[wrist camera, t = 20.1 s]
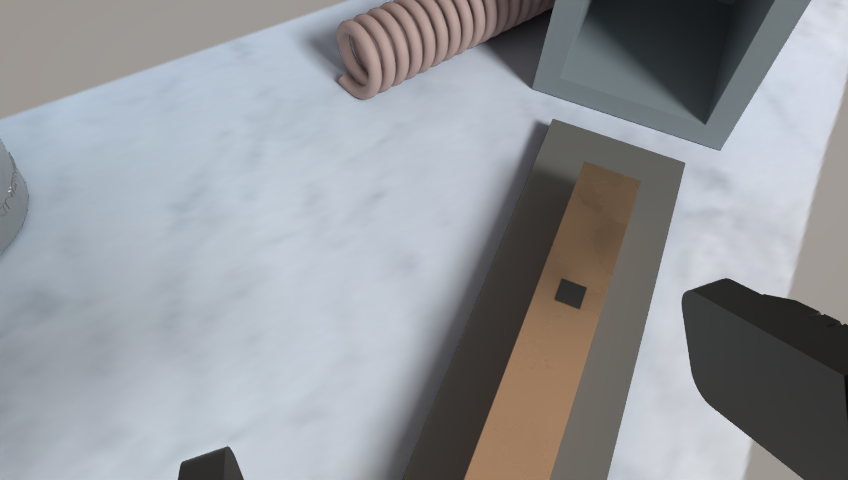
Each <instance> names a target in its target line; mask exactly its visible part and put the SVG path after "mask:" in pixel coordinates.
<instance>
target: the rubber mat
mask: <svg viewBox="0 0 848 480" xmlns="http://www.w3.org/2000/svg"><path fill="white" fill-rule="evenodd" d="M584 161H585V162H588V163H591V164H594V165H597V166H599V167H602V168H605V169H608V170H611V171H614V172H617V173H620V174H622V175H625V176H628V177H631V178H634V179H637V180H640V181H641V183H640V186H639V189H638V193H637V196H636V199H635V203H634V206H633V209H632V212H631V216H630V219H629V222H628V225H627V229H626V232H625V235H624V238H623V242H622V245H621V248H620V251H619V255H618V258H617V261H616V264H615V268H614V271H613V274H612V277H611V281H610V284H609V287H608V291H607V294H606V297H605V300H604V304H603V307H602V310H601V313H600V317H599V320H598V323H597V326H596V330H595V333H594V336H593V339H592V343H591V346H590V349H589V352H588V356H587V359H586V362H585V365H584V369H583V372H582V375H581V379H580V382H579V385H578V388H577V392H576V395H575V398H574V401H573V405H572V408H571V411H570V414H569V418H568V421H567V424H566V427H565V431H564V434H563V437H562V440H561V444H560V447H559V450H558V453H557V457H556V460H555V463H554V467H553V470H552V473H551V476H550V480H607V477H608V473H609V469H610V465H611V461H612V457H613V453H614V449H615V445H616V441H617V436H618V432H619V428H620V424H621V420H622V416H623V412H624V408H625V404H626V400H627V396H628V392H629V388H630V384H631V380H632V376H633V372H634V368H635V364H636V360H637V356H638V352H639V348H640V344H641V340H642V336H643V332H644V328H645V324H646V320H647V316H648V312H649V308H650V303H651V299H652V295H653V291H654V287H655V283H656V279H657V275H658V271H659V267H660V263H661V259H662V255H663V251H664V247H665V243H666V239H667V235H668V231H669V227H670V223H671V219H672V215H673V211H674V207H675V203H676V199H677V195H678V191H679V187H680V183H681V179H682V174H683V170H684V166H685V163H684V162H681V161H678V160H675V159H672V158H669V157H666V156H663V155H660V154H657V153H654V152H651V151H648V150H645V149H642V148H639V147H636V146H633V145H630V144H627V143H624V142H621V141H618V140H615V139H612V138H609V137H606V136H603V135H600V134H597V133H594V132H591V131H588V130H585V129H582V128H579V127H576V126H573V125H570V124H567V123H564V122H561V121H558V120H555V119H553V120H552V122H551V124H550V127H549V129H548V132H547V134H546V136H545V139H544V141H543V144H542V146H541V148H540V151H539V153H538V156H537V158H536V160H535V163H534V165H533V168H532V170H531V172H530V175H529V177H528V180H527V182H526V184H525V187H524V189H523V192H522V194H521V196H520V199H519V201H518V204H517V206H516V208H515V211H514V213H513V216H512V218H511V220H510V223H509V225H508V227H507V230H506V232H505V235H504V237H503V239H502V242H501V244H500V247H499V249H498V251H497V254H496V256H495V259H494V261H493V263H492V266H491V268H490V271H489V273H488V275H487V278H486V280H485V283H484V285H483V287H482V290H481V292H480V295H479V297H478V299H477V302H476V304H475V307H474V309H473V311H472V314H471V316H470V319H469V321H468V323H467V326H466V328H465V331H464V333H463V335H462V338H461V340H460V343H459V345H458V347H457V350H456V352H455V355H454V357H453V359H452V362H451V364H450V367H449V369H448V371H447V374H446V376H445V379H444V381H443V383H442V386H441V388H440V391H439V393H438V395H437V398H436V400H435V403H434V405H433V407H432V410H431V412H430V415H429V417H428V419H427V422H426V424H425V427H424V429H423V431H422V434H421V436H420V439H419V441H418V443H417V446H416V448H415V451H414V453H413V455H412V458H411V460H410V463H409V465H408V467H407V470H406V472H405V475H404V477H403V479H402V480H464V478H465V475H466V472H467V470H468V467H469V464H470V462H471V459H472V456H473V454H474V451H475V449H476V446H477V443H478V441H479V438H480V435H481V433H482V430H483V427H484V425H485V422H486V419H487V417H488V414H489V411H490V409H491V406H492V404H493V401H494V398H495V396H496V393H497V390H498V388H499V385H500V382H501V380H502V377H503V374H504V372H505V369H506V366H507V364H508V361H509V359H510V356H511V353H512V351H513V348H514V345H515V343H516V340H517V337H518V335H519V332H520V329H521V327H522V324H523V321H524V319H525V316H526V314H527V311H528V308H529V306H530V303H531V300H532V298H533V295H534V292H535V290H536V287H537V284H538V282H539V279H540V276H541V274H542V271H543V268H544V266H545V263H546V261H547V258H548V255H549V253H550V250H551V247H552V245H553V242H554V239H555V237H556V234H557V231H558V229H559V226H560V223H561V221H562V218H563V216H564V213H565V210H566V208H567V205H568V202H569V200H570V197H571V194H572V192H573V189H574V187H575V184H576V181H577V179H578V176H579V174H580V171H581V168H582V166H583V163H584Z"/></svg>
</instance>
